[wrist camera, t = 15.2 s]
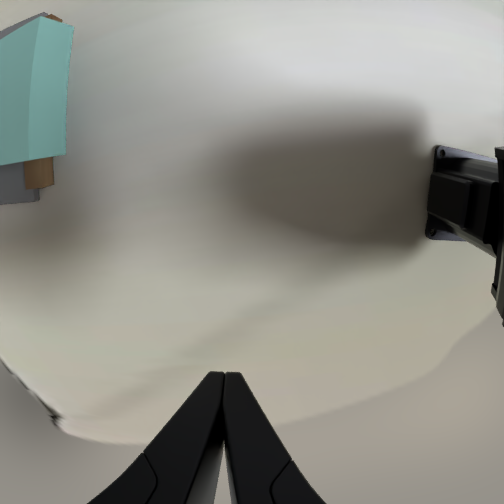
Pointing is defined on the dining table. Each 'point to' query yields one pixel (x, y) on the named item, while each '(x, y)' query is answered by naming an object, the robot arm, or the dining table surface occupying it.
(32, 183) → the wooden block
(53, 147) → the slab
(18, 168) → the mat
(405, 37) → the dining table surface
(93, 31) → the dining table surface
